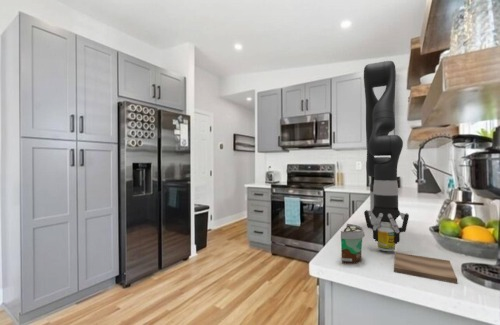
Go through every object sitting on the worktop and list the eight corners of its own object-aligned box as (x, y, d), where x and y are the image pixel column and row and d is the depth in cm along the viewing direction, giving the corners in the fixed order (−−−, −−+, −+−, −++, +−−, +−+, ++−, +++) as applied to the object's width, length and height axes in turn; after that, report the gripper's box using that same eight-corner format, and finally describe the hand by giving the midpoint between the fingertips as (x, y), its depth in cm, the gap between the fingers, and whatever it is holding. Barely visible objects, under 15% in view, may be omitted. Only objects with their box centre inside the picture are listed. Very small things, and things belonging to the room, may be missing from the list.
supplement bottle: (382, 245, 92) (382, 218, 92) (398, 249, 87) (397, 221, 87) (374, 248, 89) (374, 220, 89) (390, 252, 84) (389, 224, 84)
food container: (363, 268, 74) (362, 234, 74) (340, 264, 77) (340, 231, 77) (366, 255, 85) (366, 225, 85) (347, 252, 88) (346, 223, 88)
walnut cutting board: (395, 256, 84) (395, 252, 84) (449, 264, 76) (449, 260, 76) (393, 271, 72) (393, 267, 72) (457, 283, 64) (457, 278, 65)
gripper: (409, 193, 87) (410, 242, 88) (364, 190, 95) (365, 236, 95) (410, 195, 81) (410, 248, 81) (361, 193, 89) (362, 241, 89)
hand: (386, 241), depth 88 cm, fingers closed on supplement bottle, 5 cm apart
